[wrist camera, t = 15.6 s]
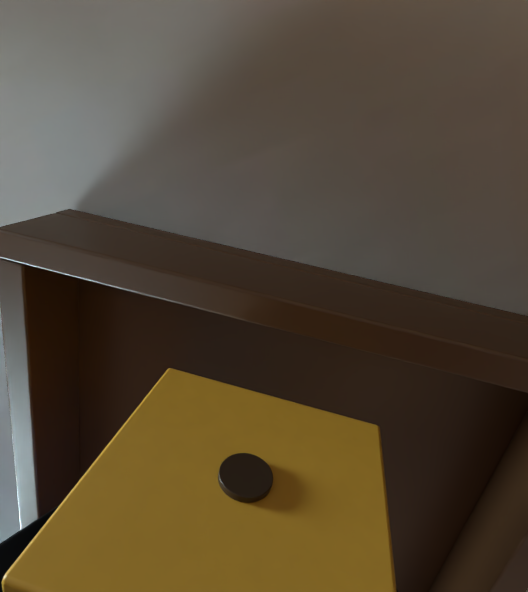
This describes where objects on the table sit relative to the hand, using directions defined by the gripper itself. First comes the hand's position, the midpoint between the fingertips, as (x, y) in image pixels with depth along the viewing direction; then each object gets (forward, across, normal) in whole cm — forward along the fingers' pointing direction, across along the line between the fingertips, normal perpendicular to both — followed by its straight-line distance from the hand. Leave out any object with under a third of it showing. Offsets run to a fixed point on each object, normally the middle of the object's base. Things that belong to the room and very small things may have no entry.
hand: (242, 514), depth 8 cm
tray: (+4, 0, +4) cm, 5 cm away
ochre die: (+1, 0, 0) cm, 1 cm away
